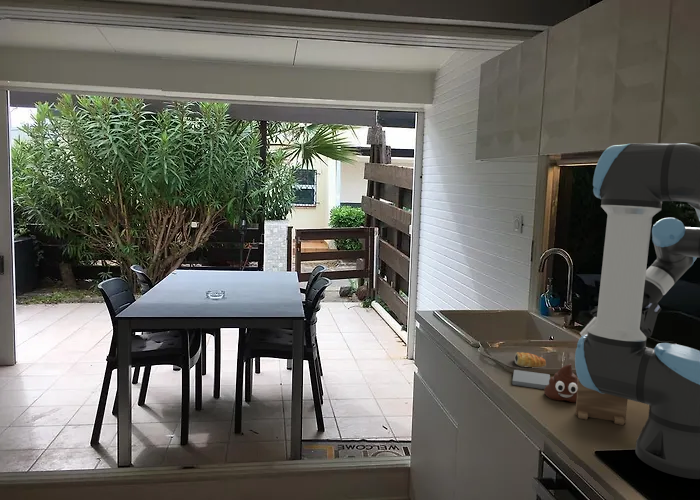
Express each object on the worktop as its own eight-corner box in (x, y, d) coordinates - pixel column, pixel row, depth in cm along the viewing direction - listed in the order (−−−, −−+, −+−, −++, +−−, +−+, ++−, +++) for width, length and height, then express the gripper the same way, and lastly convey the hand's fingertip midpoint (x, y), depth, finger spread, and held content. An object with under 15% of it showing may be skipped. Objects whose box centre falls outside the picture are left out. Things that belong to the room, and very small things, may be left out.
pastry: (542, 362, 180) (543, 351, 180) (548, 369, 173) (549, 357, 173) (512, 360, 181) (513, 349, 180) (516, 367, 174) (517, 355, 174)
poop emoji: (582, 394, 153) (585, 361, 152) (586, 406, 145) (589, 371, 144) (543, 389, 156) (545, 356, 154) (544, 401, 147) (547, 366, 146)
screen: (626, 425, 134) (631, 367, 132) (576, 417, 137) (581, 361, 135) (623, 417, 138) (628, 361, 137) (575, 410, 142) (579, 355, 140)
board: (550, 390, 155) (550, 385, 155) (512, 384, 158) (512, 380, 158) (549, 378, 165) (549, 374, 165) (513, 373, 168) (514, 369, 168)
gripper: (697, 306, 143) (643, 367, 141) (624, 288, 167) (576, 340, 164) (683, 286, 141) (628, 348, 138) (610, 270, 165) (562, 322, 162)
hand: (600, 343), depth 151 cm, fingers open, 13 cm apart
